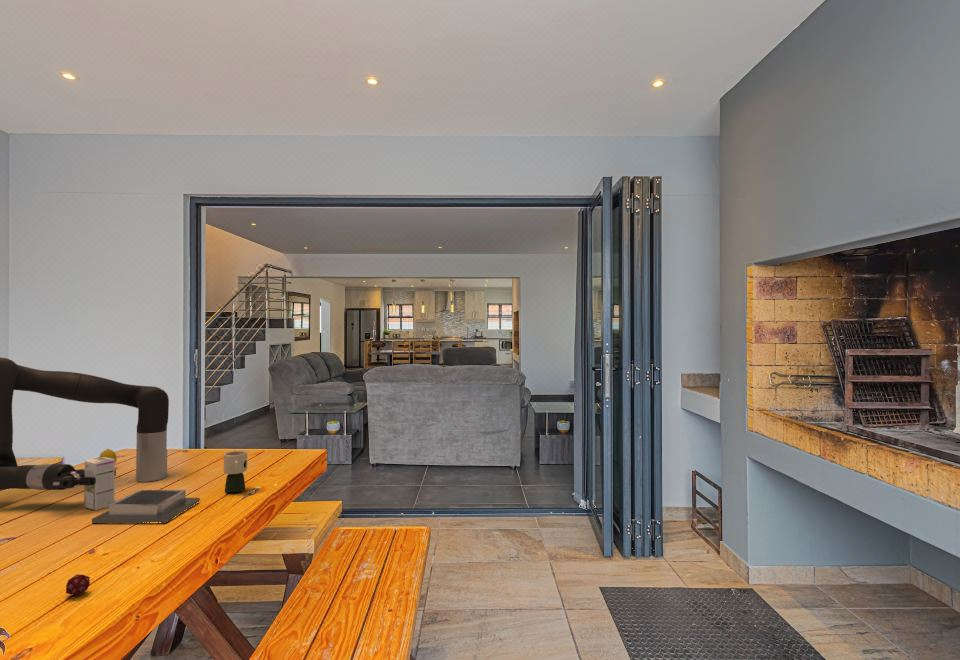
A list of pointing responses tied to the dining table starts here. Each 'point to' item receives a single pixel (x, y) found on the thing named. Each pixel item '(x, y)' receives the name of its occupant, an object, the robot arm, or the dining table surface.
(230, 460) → the beige trophy cup
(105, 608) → the dining table surface
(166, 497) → the collar stand
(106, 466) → the syrup box
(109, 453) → the lemon
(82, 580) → the dice
